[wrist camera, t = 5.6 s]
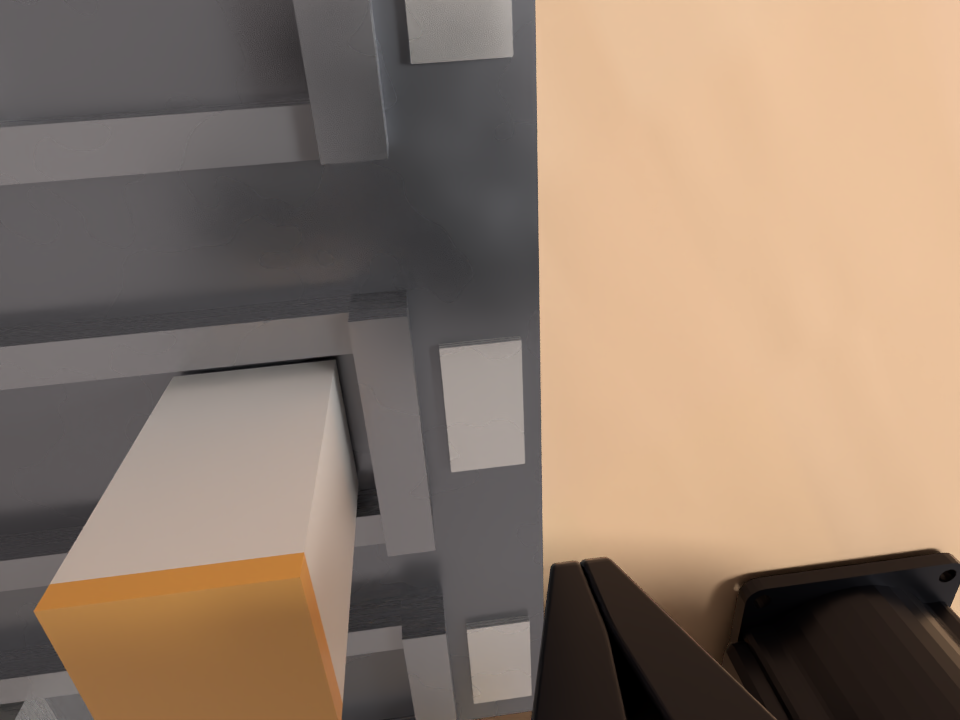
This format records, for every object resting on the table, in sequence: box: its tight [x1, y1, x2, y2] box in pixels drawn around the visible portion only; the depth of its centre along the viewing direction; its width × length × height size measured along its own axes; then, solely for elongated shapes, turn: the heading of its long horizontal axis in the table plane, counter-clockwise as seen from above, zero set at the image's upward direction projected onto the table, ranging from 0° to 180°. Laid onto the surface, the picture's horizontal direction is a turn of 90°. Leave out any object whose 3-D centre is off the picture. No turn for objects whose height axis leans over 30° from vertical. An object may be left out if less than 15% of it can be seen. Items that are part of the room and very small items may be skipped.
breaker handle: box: [33, 360, 359, 720], centre depth 11 cm, size 3×3×5 cm
